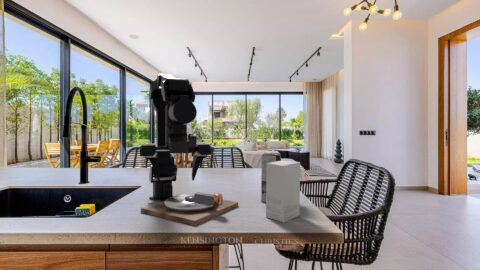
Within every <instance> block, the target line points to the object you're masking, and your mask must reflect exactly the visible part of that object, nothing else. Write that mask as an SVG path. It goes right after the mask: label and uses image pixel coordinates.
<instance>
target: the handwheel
mask: <svg viewBox="0 0 480 270" xmlns="http://www.w3.org/2000/svg"><path fill="white" fill-rule="evenodd" d="M223 200H224V199H223V194H222V193H214V194H211V193H205V192H195V193H185V194H178V195H173V196H172V197H169V198H167V199H166V200H165V207H166V208H167V209H170V210H174V211H184V212H190V211H201V210H206V209H210V208H213V207H215V206H221V205H222V204H223Z"/></svg>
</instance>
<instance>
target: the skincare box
mask: <svg viewBox="0 0 480 270" xmlns="http://www.w3.org/2000/svg"><path fill="white" fill-rule="evenodd" d="M266 164H267V166H266V202H265V218H267V219H271V220H274V221H277V222H280V223H285V222H288V221H290V220H293V219H294V218H297V217H299V216H300V207H301V206H300V204H301V203H300V197H301V196H300V191H301V190H300V189H301V162H300V161H293V160H282V159H281V161H277V162H271V163H266Z"/></svg>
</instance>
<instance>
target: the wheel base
mask: <svg viewBox="0 0 480 270" xmlns="http://www.w3.org/2000/svg"><path fill="white" fill-rule="evenodd" d="M237 207H239V201H232V200H228V199H223V204H222V205H221V206H215V207H213V208H210V209H206V210H201V211H190V212H184V211H174V210H170V209H167V208H166V207H165V201H158V202H156V203H153V204H150V205H146V206H143V207H140V213H144V214H146V215H150V216H151V215H152V216H155V217H159V218H164V219H167V220H170V221H171V220H172V221H175V222H180V223H183V224H188V225H191V226H197V225H200V224H202V223H205V222H206V221H208V220H210V219H213V218H214V217H217V216H219V215H221V214H223V213H226V212H228V211H230V210H233V209H234V208H237Z"/></svg>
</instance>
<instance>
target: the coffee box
mask: <svg viewBox="0 0 480 270" xmlns="http://www.w3.org/2000/svg"><path fill="white" fill-rule="evenodd" d="M277 161H282V153H279V152H278V153H276V152H275V153H273V152H272V153H271V152H270V153H266V152H265V153H263V154H261V178H260V179H261V180H260V181H261V182H260V183H261V184H260V185H261V187H260V190H261V191H260V192H261V194H260V196H261V197H260V201H261V202H262V203H266V166H267V164H266V163H271V162H277Z"/></svg>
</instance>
